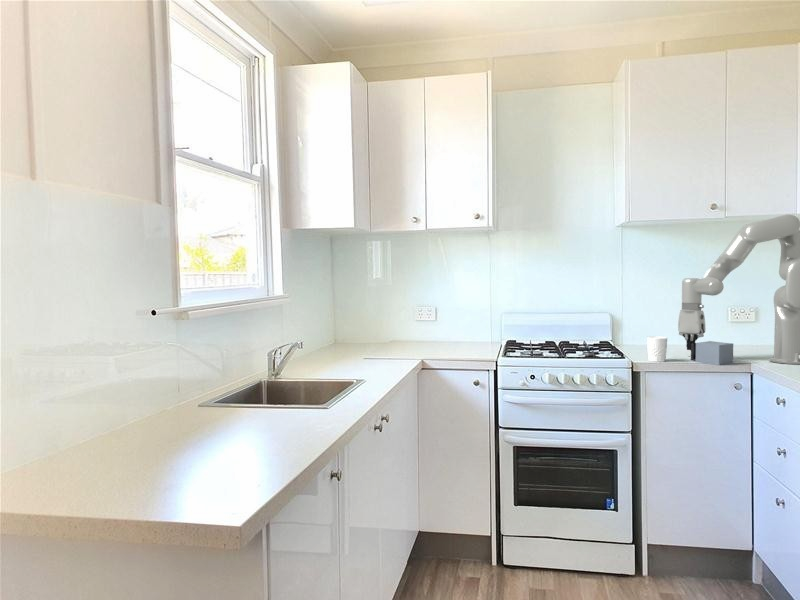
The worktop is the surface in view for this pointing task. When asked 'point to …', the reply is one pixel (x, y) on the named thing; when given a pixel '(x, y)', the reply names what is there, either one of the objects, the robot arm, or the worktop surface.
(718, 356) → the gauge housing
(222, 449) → the worktop surface
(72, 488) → the worktop surface
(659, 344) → the white cup
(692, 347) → the plunger
